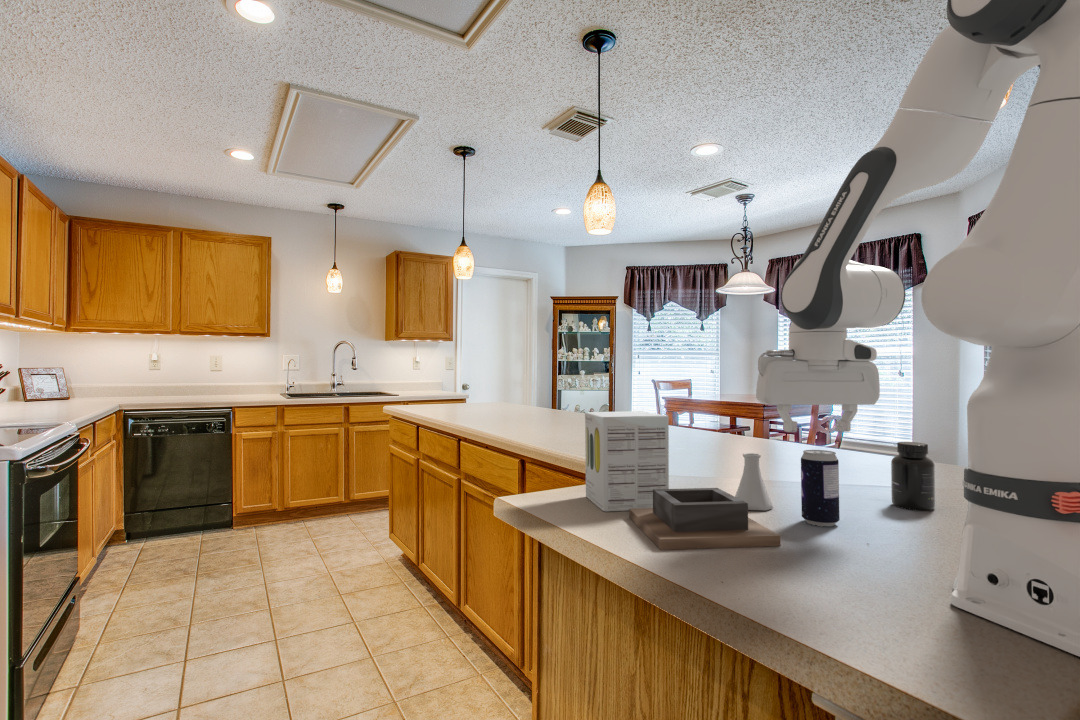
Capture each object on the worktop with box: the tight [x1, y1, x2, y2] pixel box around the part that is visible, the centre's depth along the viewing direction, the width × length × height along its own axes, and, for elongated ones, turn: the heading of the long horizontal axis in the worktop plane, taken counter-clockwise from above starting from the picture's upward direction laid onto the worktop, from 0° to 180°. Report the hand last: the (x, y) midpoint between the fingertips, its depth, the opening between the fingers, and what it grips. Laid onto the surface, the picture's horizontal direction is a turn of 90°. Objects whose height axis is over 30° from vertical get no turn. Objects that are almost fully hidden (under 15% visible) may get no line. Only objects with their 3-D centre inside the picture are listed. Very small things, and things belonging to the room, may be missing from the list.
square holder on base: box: [628, 487, 782, 551], centre depth 89 cm, size 18×18×6 cm
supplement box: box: [584, 410, 670, 512], centre depth 108 cm, size 13×13×18 cm
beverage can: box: [800, 449, 840, 527], centre depth 93 cm, size 6×6×12 cm
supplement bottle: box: [890, 441, 936, 512], centre depth 104 cm, size 7×7×12 cm
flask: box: [734, 452, 774, 511], centre depth 104 cm, size 7×7×10 cm
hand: (816, 431), depth 93 cm, fingers open, 8 cm apart
